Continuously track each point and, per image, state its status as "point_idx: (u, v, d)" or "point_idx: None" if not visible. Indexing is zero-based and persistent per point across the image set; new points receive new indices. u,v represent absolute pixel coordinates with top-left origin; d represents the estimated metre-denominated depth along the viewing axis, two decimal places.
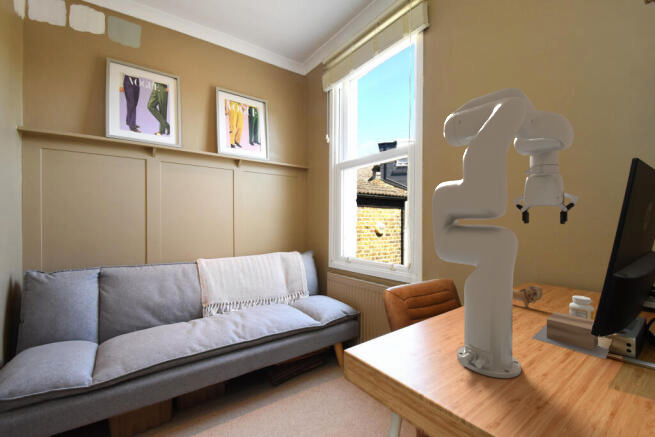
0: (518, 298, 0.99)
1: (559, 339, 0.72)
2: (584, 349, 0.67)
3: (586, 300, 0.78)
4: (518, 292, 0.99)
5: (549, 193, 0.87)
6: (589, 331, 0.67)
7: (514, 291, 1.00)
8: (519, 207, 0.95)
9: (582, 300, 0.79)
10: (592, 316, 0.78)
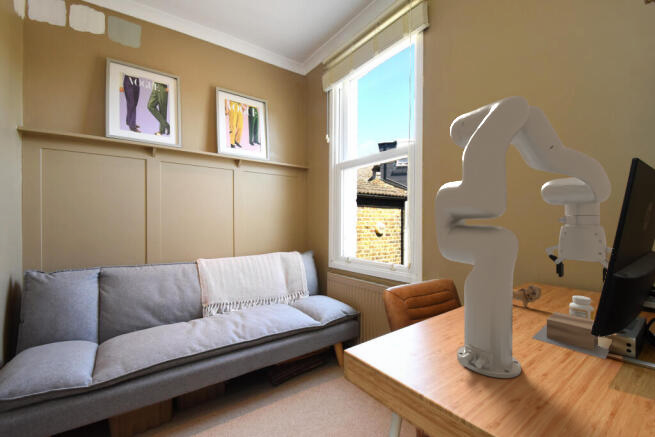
0: (517, 298, 0.99)
1: (559, 339, 0.72)
2: (584, 349, 0.67)
3: (586, 300, 0.79)
4: (517, 292, 0.99)
5: (589, 247, 0.77)
6: (589, 331, 0.67)
7: (513, 291, 1.00)
8: (552, 258, 0.85)
9: (582, 300, 0.79)
10: (592, 316, 0.78)
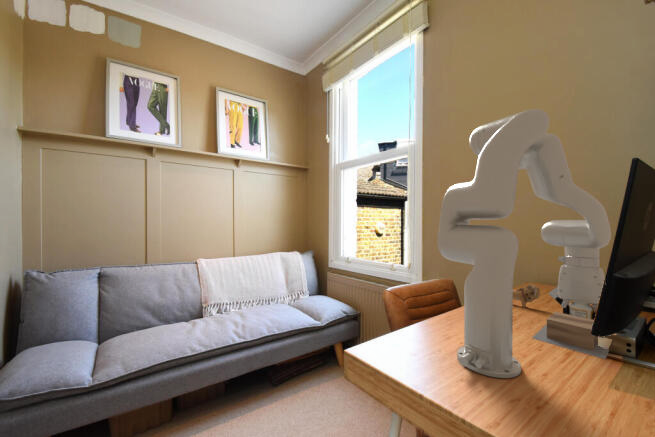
0: (516, 297, 1.00)
1: (559, 339, 0.72)
2: (584, 349, 0.67)
3: None
4: (516, 292, 1.00)
5: (589, 290, 0.77)
6: (589, 331, 0.67)
7: None
8: (559, 301, 0.84)
9: None
10: (592, 316, 0.78)
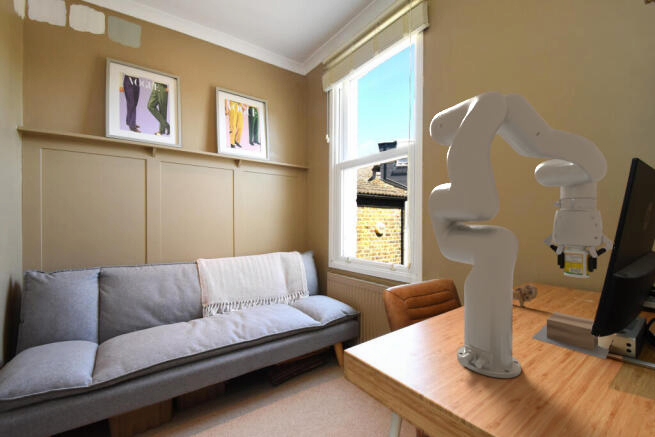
0: (514, 297, 1.00)
1: (559, 339, 0.72)
2: (584, 349, 0.67)
3: None
4: (514, 291, 1.00)
5: (585, 232, 0.73)
6: (589, 331, 0.67)
7: None
8: (554, 248, 0.80)
9: None
10: (588, 260, 0.74)
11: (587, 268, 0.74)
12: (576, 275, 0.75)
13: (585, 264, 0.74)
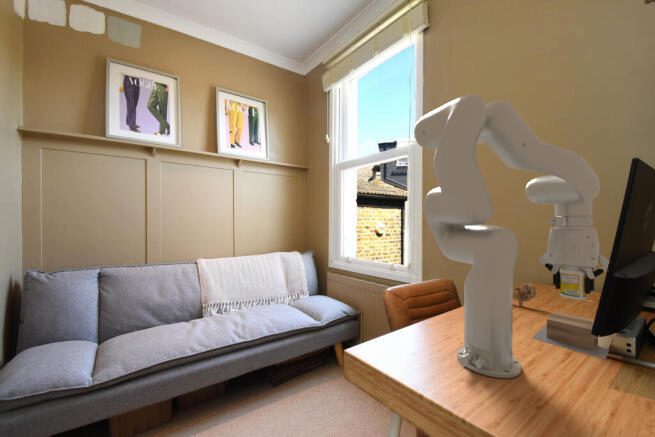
0: None
1: (559, 339, 0.72)
2: (584, 349, 0.67)
3: None
4: None
5: (581, 252, 0.69)
6: (589, 331, 0.67)
7: None
8: (549, 267, 0.76)
9: None
10: None
11: (584, 289, 0.70)
12: (572, 297, 0.71)
13: (581, 285, 0.70)
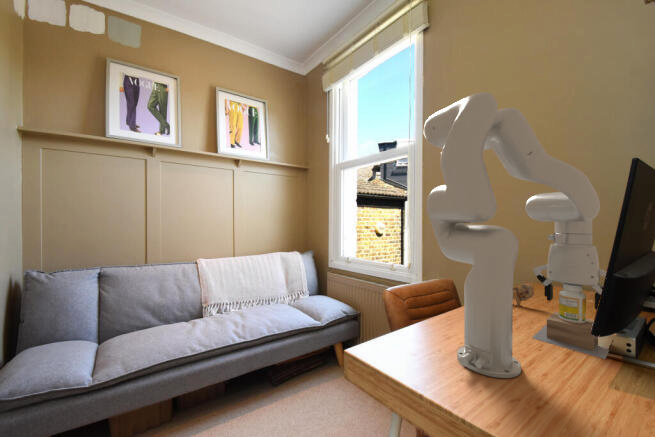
0: None
1: (559, 339, 0.72)
2: (584, 349, 0.67)
3: (577, 287, 0.71)
4: None
5: (581, 270, 0.69)
6: (589, 331, 0.67)
7: None
8: (541, 279, 0.77)
9: (573, 287, 0.71)
10: (584, 304, 0.70)
11: (583, 313, 0.70)
12: (571, 320, 0.71)
13: (580, 309, 0.70)
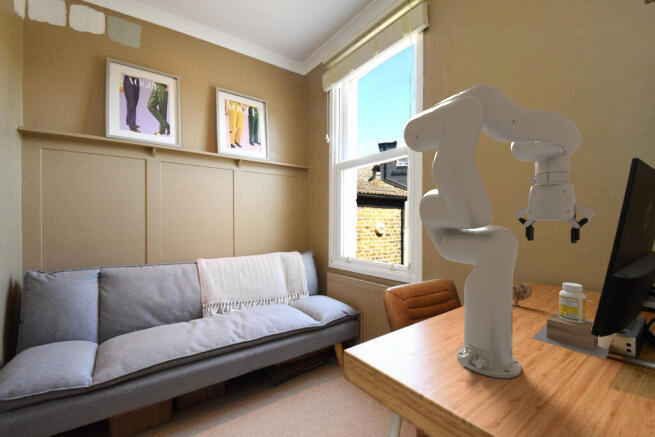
0: None
1: (559, 339, 0.72)
2: (584, 349, 0.67)
3: (577, 287, 0.71)
4: None
5: (558, 206, 0.73)
6: (589, 331, 0.67)
7: None
8: (522, 221, 0.81)
9: (573, 287, 0.71)
10: (584, 305, 0.70)
11: (583, 313, 0.70)
12: (571, 320, 0.71)
13: (580, 309, 0.70)
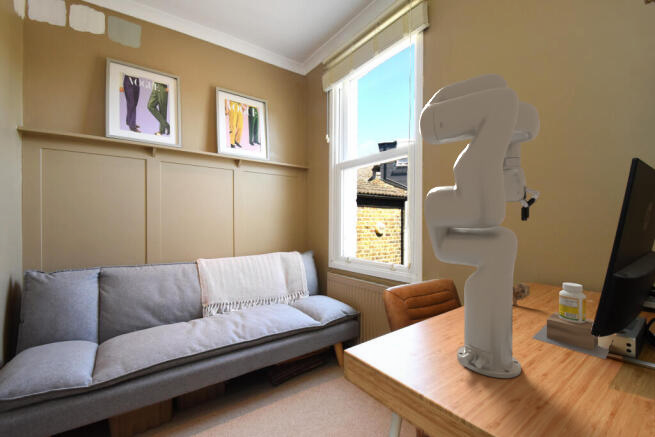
0: None
1: (559, 339, 0.72)
2: (584, 349, 0.67)
3: (577, 287, 0.71)
4: None
5: (510, 188, 0.82)
6: (589, 331, 0.67)
7: None
8: None
9: (573, 287, 0.71)
10: (584, 305, 0.70)
11: (583, 313, 0.70)
12: (571, 320, 0.71)
13: (580, 309, 0.70)
